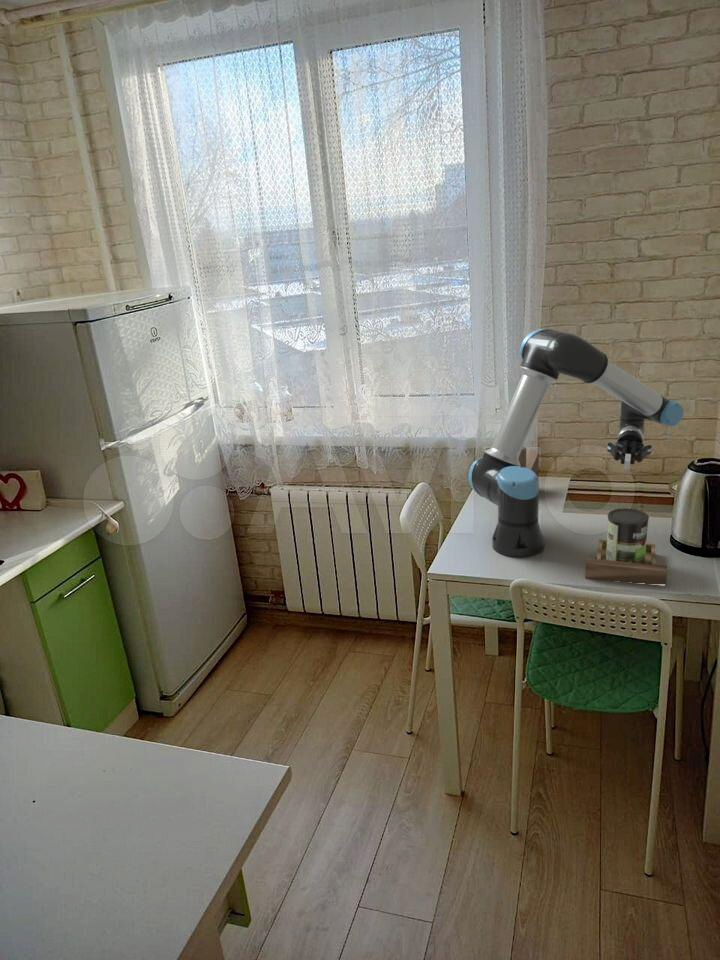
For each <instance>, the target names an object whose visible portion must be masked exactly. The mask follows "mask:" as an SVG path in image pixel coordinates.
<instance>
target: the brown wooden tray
mask: <svg viewBox="0 0 720 960" xmlns="http://www.w3.org/2000/svg"><path fill="white" fill-rule="evenodd" d="M606 551H607V539H599V540H598V547H597V554H596V559H601V560H606ZM656 551H657V549H656V544H654V543H653V544H652V543H646V554H645V564H654V565H657V562H656V560H657V559H656V558H657V557H656Z"/></svg>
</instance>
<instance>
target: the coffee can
mask: <svg viewBox="0 0 720 960" xmlns="http://www.w3.org/2000/svg"><path fill="white" fill-rule="evenodd" d="M649 519H650V517H649V514H647V513H646V512H644V511H642V510H638V509H635V508H615V509H613V510H610V511H609V512H608V513H607V531H606V532H607V534H606V536H607V539H606V540H607V551H606V560H611V561H622V562H633V563H643V564H645V554H646V544H647V537H648V525H649V524H648V523H649Z"/></svg>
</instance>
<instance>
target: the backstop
mask: <svg viewBox="0 0 720 960" xmlns="http://www.w3.org/2000/svg"><path fill="white" fill-rule="evenodd" d="M584 567H585V569H584V570H585V571H584V572H585V573H584V579H586V580H595V581H604V582H613V581H620V582H619V583H622V582H632V583H645V584H666V585H667V576H668V565H664V564H656V565H654V564H643V563H633V562H622V561H611V560H601V559H597V558H588V557H586V560H585V566H584ZM632 583H631V584H632Z"/></svg>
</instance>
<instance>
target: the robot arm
mask: <svg viewBox="0 0 720 960" xmlns="http://www.w3.org/2000/svg"><path fill="white" fill-rule="evenodd" d="M519 351H520V352H519V353H520V358H521V360H522V361H521V363H520V366H519V369H520V371H521V377H520V379H519V381H518V384H517V386H516V388H515V391H514V394H513V396H512V399H511V401H510V403H509V405H508V408H507V409H506V412H505V414H504V416H503V417H504V418H503V420H502V422H501V424H500V427H499V429H498V432H497V435H496V436H495V439H494V442H493V444H492V446H491V447H490V448H488V449H486V450H485V451H484V452H483V455H482V457H479V458H477V459H476V460H474V461H473V463H472V464H471V466H470V467H469V470H468V482H469V486H470V487H471V489H472V490H473V491H474V492H475V493H476V494H478V495H479V496H480V497H482V498H485V500H488V501H489V502H491V503H492V504H494V505H496V506H497V523H496V527H495V529H494V532H493V534H492V538H491V539H492V541H491V543H492V545H491V546H492V548H493V549H494V551H496V552H497V553H499V554H501V555H504V556H509V557H514V558H515V557H516V558H523V557H524V558H525V557H530V556H534V555H538V554H539V553H541V552H542V551H543V550H544V548H545V539H544V538H545V537H544V536H543V533H542V530H541V527H540V524H539V506H540V505H539V502H540V501H539V498H540V496H539V495H540V493H539V492H540V481H539V476H538V477H537V475H536V473H535V472H533V471H532V470H530V469H528V468H525V467H523V468H521V467H520V462H519V460H518V457H519V455H520V452H521V450H522V448H523V447H524V446H525V445H524V444H525V443H526V441H527V438H528V436H529V433H530V431H531V428H532V426H533V424H534V421H535V419H536V416H537V414H538V412H539V411H540V407H541V405H542V403H543V400H544V399H545V398H544V397H545V395H546V394H547V391H548V389H549V386H550V385H551V384H553V383H556V382H557V380H558V378H559V376H560V375H564V376H568V377H571V378H575V379H578V380H580V381H582V382H583V383H585V384H588V385H589V384H593V385H595V386H597V387H599V389H602V390H603V391H605V392H607V393H608V394H610V395H611V396H613V397H615V398H616V399H618V400H619V401H620V402H621V403H620V415H619V416H620V417H619V427H618V428H619V430H618V436H617V442H615V443H612V442H607V452H608V453H610V454H611V456H612V458H613V459H614V461H616V462H617V461H620V464H621V465H624V467H623V470H624V471H625V470H626V471H629V470H630V469H631V465H635V463H636V462H637V463H641V462H643V460H644V459H645V458H646V457H647V456H648V455H651V454H652V447H653V446H652V445H651V444H648V445H645V444H644V432H645V420H648V421H651V422H654V423H657V424H660V425H661V426H667V427H674V426H677V425H678V424H679V423H680V422H681V421H682V419H683V417H684V410H685V409H684V406H683V404H681V403H680V402H676V401H675V400H671V399H668V398H666V396H664V395H662V394H660V393H659V392H657V391H655V390H654V389H652V388H651V387H650V386H648V385H646V384H645V383H643V382H642V381H641V380H639V379H637V378H635V377H634V376H633V375H631V374H629V373H628V372H627V371H625V370H623V369H622V368H620V367H619V366H617V365H616V364H614V363H613V362H611V361H610V360H609V356H608V355H607V354H605V353H604V352H603V351H601V350H600V349H599V348H597V347H595V346H594V345H593V344H591V343H590V342H588V341H587V340H585V339H583V338H582V337H580V336H578V335H576V334H572V333H569V332H568V333H567V332H563V331H560V330H555V329H550V328H538V329H535V330H533V331H531V332H529V333H528V334H527V335H526V336H525V338H524V339H523V341H522V342H521V344H520V349H519Z"/></svg>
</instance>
